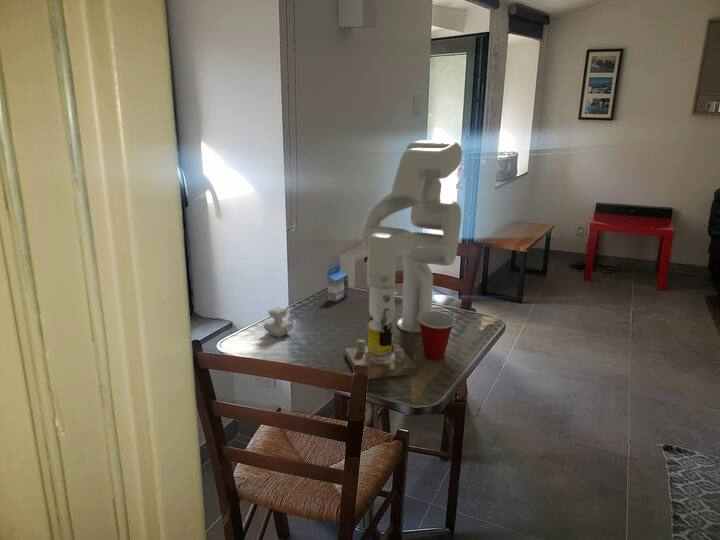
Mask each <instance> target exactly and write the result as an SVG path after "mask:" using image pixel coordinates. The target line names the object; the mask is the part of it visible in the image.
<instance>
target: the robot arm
mask: <svg viewBox="0 0 720 540" xmlns="http://www.w3.org/2000/svg"><path fill="white" fill-rule="evenodd" d="M462 158H463V151H462V147H461V145H460V144H459V143H458V142H456V141H447V140H445V141H444V140H442V141H441V140H415V141H412V142H410V143H409V144H408V145H407V146H406V150H404V152H403V153H402V155H401V157H400V160H399V164H398V168H397V171H396V173H395V174H396V175H395V177H394V181H393V184H392V187H391V188H392V189H391V191H390V193H388V194H387V195H385V197H383V198H382V199H381V200H379V201H378V203H376V205H374V207H373V208H372V209H371V211H370V212H369V213H368V215H367V219H366V222H365V226H364V229H363V232H362V238H361V239H362V246H363V248H364V249H365V251H366V252H367V271H366V272H367V275H366V276H367V279H366V283H367V284H366V285H367V286H368V287H369V293H368V311H369V322H370V321H371V320H373V317H372V314H373V316H374V319H375V320H376V321H377V322H378V323H380V328H381V332H380V340H379V345H380V346H387V345H391V337H393V323H395V321H396V302H395V299H396V298H395V289H394V287H395V286H396V268H397V267H396V264H397V263H396V262H397V261H396V260H397V259H396V258H399V257H402V263H403V265H402V266H403V281H402V283H403V285H402V312H401V313H402V315H401V316H402V317H401V318H399V319H398V320H397V322H396V325H397V327H398V329H400V330H401V331H405V332H407V333H413V334H414V333H415V334H421V329H420V325H419V321H418V319H417V318H418V315H419V314H421V313H423V312H427V311H432V310H433V309H432V308H433V307H432V305H433V283H434V276H433V271H432V270H431V268H430V266H429V265H435V266H437V265H438V266H447V267H448V266H451V265H453V264H454V263H455V260H456V258H457V252H458V245H459V239H460V233H461V230H460V229H461V223H462V209H461V205H460V204H459V203H458V202H456V201H454V200H447V199H441V193H442V183H441V179H443V180H444V179H446V178H448V177H449V176H450V175H452V173H454V172H455V171H456V170H457V169H458V168H459V166H460V165H461V163H462ZM408 208H411V211H410V222H411V223H410V224H411V225H412V226H413V227H415V228H417V229H418V228H419V229H425V230H435V231H442V232H443V233H442V234H438V233H431V232H429V233H428V232H419V231H417V232H411V231H410V230H408V229H405V228H398V227H397V228H396V227H389V226H381V225H382V223H383V222H384V220H385V219H387V218H388V217H389V216H392V215H393V214H395V213H398V212H401V211H403V210H406V209H408ZM383 319H386V320H383ZM382 320H383V321H382ZM383 324H386V325H385V326H384V327H383Z"/></svg>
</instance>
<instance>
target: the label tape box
mask: <svg viewBox="0 0 720 540" xmlns="http://www.w3.org/2000/svg"><path fill="white" fill-rule="evenodd" d="M341 264H342V263H341ZM341 264H337V265H335V266H332V267H330V268H327V275H326V276H327V279H326V280H327V299H328V301H331V302H335V303H336V302H338V301H340V300H342V299H344V298H346V297H348V296H349V275H348V274H347V273H345V272H344V271H342V270H341Z"/></svg>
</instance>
